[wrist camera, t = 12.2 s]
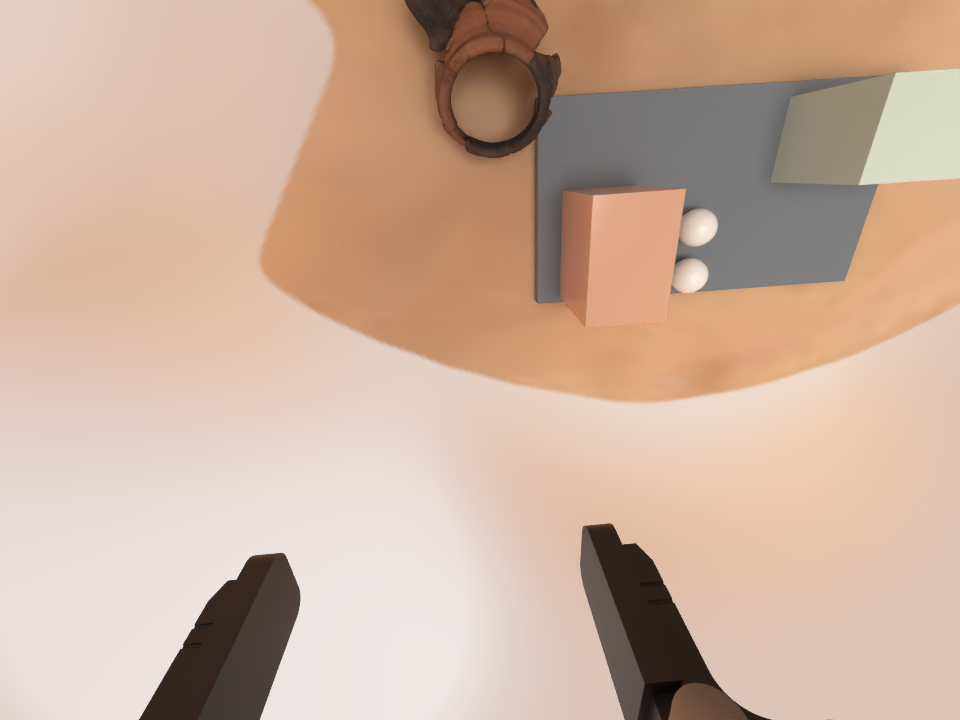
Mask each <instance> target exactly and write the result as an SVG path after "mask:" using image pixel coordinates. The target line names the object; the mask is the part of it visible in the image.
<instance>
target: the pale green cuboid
mask: <svg viewBox="0 0 960 720" xmlns="http://www.w3.org/2000/svg"><path fill="white" fill-rule="evenodd" d="M954 178H960V69H948V70H932V71H917V72H901V73H893V74H888V75H884V76H880V77H875V78H871V79H867V80H862V81H858V82H853V83H849V84H845V85H840V86H836V87H832V88H827V89H823V90H819V91H814V92H810V93H805V94H801V95H797V96H792V97H790V101H789V105H788V110H787V114H786V118H785V122H784V126H783V131H782V135H781V139H780V143H779V147H778V152H777V156H776V160H775V164H774V168H773V173H772V177H771V181H770V183H803V184H837V185H868V184H883V183H897V182H911V181H926V180H940V179H954Z"/></svg>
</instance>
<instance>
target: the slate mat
mask: <svg viewBox="0 0 960 720" xmlns="http://www.w3.org/2000/svg"><path fill="white" fill-rule="evenodd" d="M883 76H884V75H883ZM875 77H880V76H868V77H852V78H836V79H821V80H805V81H789V82H774V83H758V84H742V85H727V86H711V87H696V88H680V89H664V90H649V91H633V92H617V93H602V94H586V95H570V96H555V97H552V98H551V102H550V105H549V109H550V110H551V111H552V115H551V116H550V118H549V119H548V121H547V122H546V124H545V125H544V126H543V127H542V129H541V131H540V133H539V134H538V135H537V136H536V302H537V303H538V304H539V303H552V302H564V301H563V300H562V299H561V298H560V271H561V232H562V193H563V190H576V189H590V188H604V187H618V186H632V185H638V186H653V187H667V188H682V189H686V193H685V200H684V206H683V213H682V217H683V216H684V215H685V214H686V213H687V212H689V211H691V210H694V209H707V210H709V211H711V212H712V213H713V214H714V215H715V216H716V218H717V221H718V229H717V232H716V234H715V236H714V237H713V238H712V239H711V240H710V241H709V242H707V243H706V244H704V245H701V246H696V247H692V246H687V245H685V244H683V243H682V242H681V241H680V240H679V239H678V246H677V252H676V259H675V264H676V263H678V262H679V261H681V260H683V259H686V258H696V259H699V260H701V261H702V262H703V263H704V264H705V265H706V266H707V268H708V279H707V282H706V283H705V285H704V286H703V287H702V288H701V289H699V290H697V291H695V292H699V291H713V290H726V289H739V288H753V287H766V286H779V285H793V284H806V283H820V282H833V281H845V278H846V275H847V272H848V269H849V266H850V263H851V260H852V258H853V255H854V252H855V249H856V246H857V243H858V240H859V237H860V234H861V232H862V229H863V226H864V223H865V220H866V217H867V214H868V211H869V209H870V206H871V203H872V200H873V197H874V194H875V191H876V188H877V186H878V184H868V185H837V184H803V183H770V181H771V177H772V173H773V168H774V164H775V160H776V156H777V152H778V147H779V143H780V139H781V135H782V131H783V126H784V122H785V118H786V114H787V110H788V105H789V101H790V97H792V96H797V95H801V94H805V93H810V92H814V91H819V90H823V89H827V88H832V87H836V86H840V85H845V84H849V83H853V82H858V81H862V80H867V79H871V78H875ZM537 104H538V98H537V99H536V110H537ZM672 293H682V292H679V291H677V290H676V289H675V288H674V287H673V286H672V285H671V292H670V294H672Z"/></svg>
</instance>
